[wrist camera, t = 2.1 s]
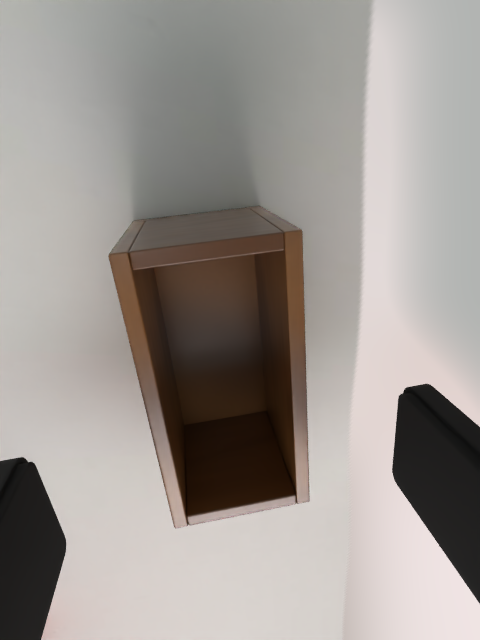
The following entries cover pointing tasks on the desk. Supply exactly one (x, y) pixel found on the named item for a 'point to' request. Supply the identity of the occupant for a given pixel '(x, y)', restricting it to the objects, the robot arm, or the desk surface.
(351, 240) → the desk surface
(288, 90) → the desk surface
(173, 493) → the wooden cubby shelf
